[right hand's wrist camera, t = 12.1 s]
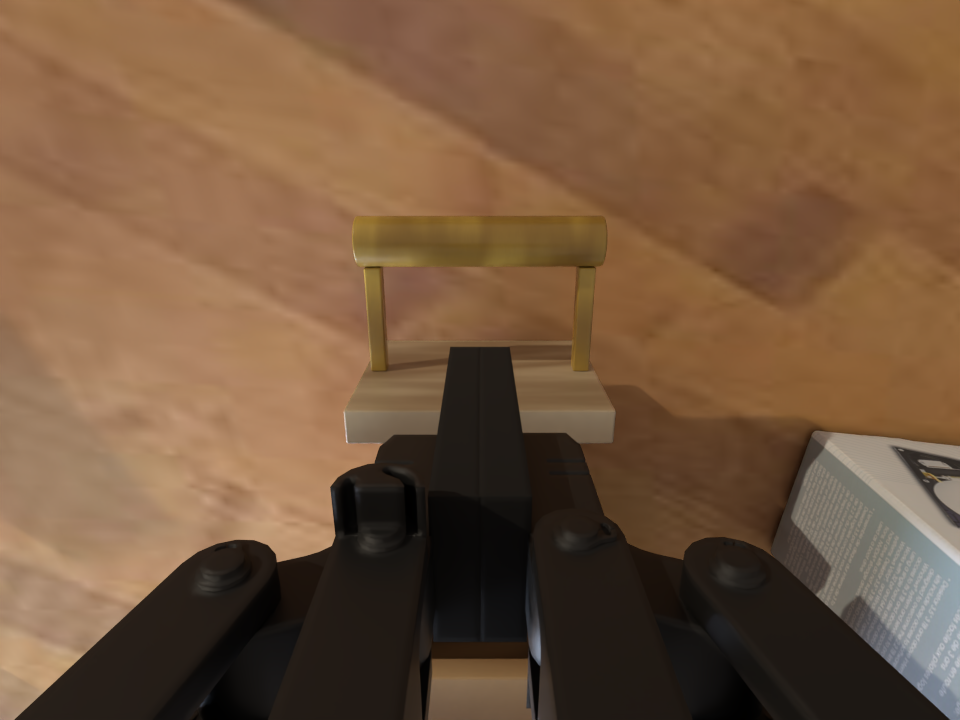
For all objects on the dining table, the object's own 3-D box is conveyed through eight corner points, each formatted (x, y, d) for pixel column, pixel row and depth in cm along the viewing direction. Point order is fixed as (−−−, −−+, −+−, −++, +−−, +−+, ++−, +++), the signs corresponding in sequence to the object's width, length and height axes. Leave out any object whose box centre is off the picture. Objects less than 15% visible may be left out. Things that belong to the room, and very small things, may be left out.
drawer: (371, 206, 23) (326, 230, 16) (587, 206, 23) (633, 230, 16) (397, 610, 30) (374, 743, 23) (562, 610, 30) (585, 743, 23)
